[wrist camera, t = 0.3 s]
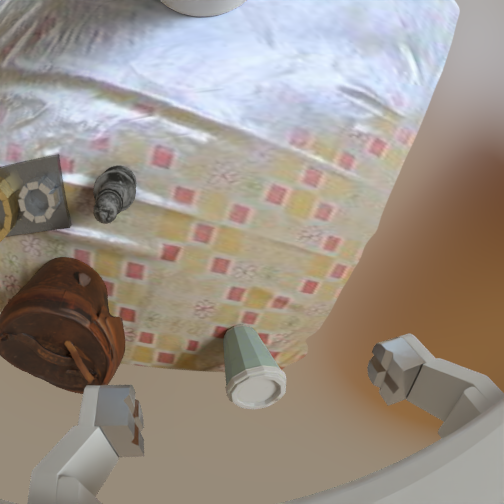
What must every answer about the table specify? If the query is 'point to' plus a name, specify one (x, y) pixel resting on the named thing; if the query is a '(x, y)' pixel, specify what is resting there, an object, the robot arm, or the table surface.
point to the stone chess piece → (113, 193)
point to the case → (63, 327)
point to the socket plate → (32, 197)
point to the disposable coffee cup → (251, 370)
